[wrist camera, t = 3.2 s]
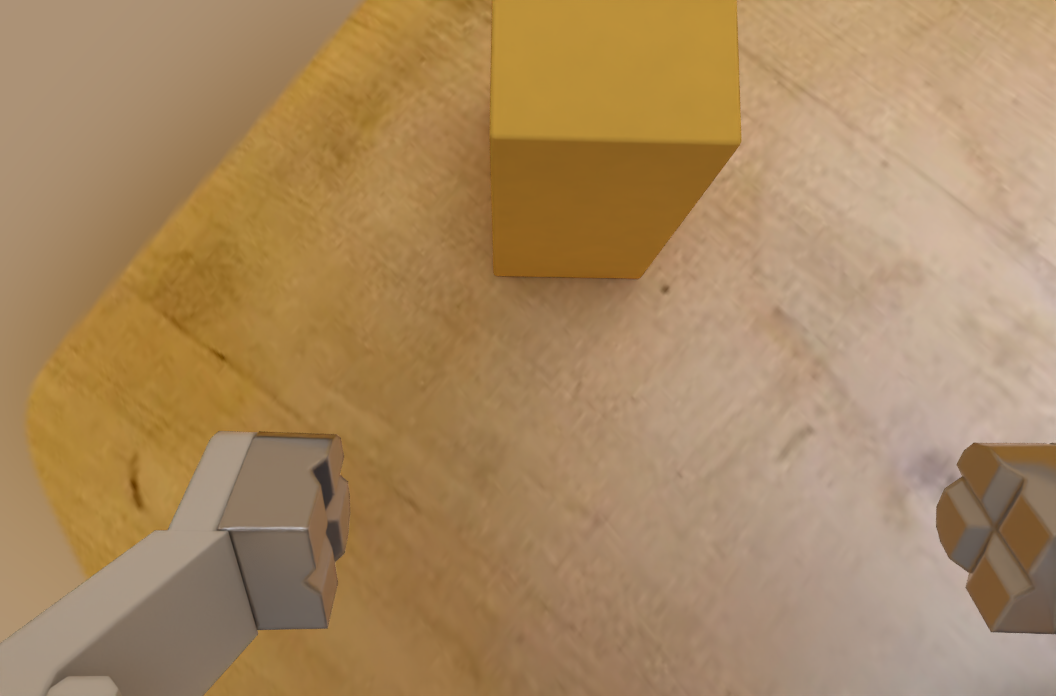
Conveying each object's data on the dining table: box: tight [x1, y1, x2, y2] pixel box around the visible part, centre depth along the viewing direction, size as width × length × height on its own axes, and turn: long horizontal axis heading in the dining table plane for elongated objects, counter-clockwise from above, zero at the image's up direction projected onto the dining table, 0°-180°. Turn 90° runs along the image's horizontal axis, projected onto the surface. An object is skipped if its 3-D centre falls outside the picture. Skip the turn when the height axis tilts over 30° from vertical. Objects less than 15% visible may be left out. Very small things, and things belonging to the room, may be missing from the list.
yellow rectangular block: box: [490, 0, 741, 279], centre depth 19 cm, size 4×6×10 cm
